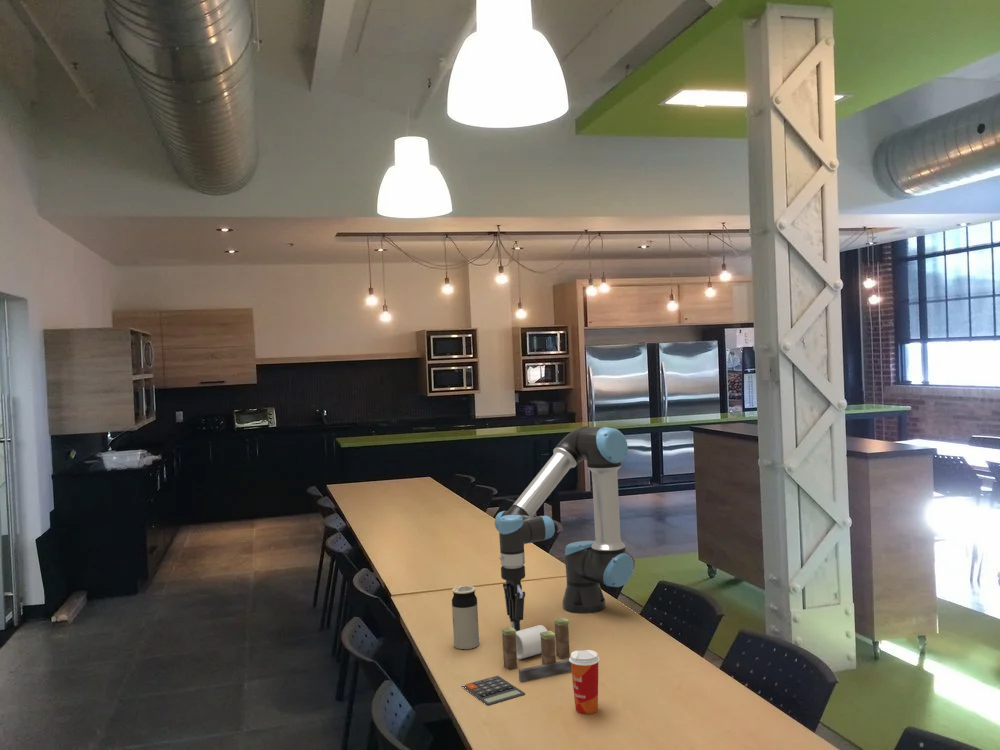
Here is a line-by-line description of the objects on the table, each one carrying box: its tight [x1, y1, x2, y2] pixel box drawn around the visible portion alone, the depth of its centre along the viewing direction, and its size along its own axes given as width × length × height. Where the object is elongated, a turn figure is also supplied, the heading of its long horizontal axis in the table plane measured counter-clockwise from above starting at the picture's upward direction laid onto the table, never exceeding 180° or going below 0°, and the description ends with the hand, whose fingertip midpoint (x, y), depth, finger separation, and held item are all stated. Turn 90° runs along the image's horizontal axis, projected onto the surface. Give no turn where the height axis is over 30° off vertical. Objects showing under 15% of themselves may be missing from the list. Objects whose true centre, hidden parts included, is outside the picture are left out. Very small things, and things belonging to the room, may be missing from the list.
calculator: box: [461, 675, 526, 707], centre depth 216 cm, size 12×1×15 cm
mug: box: [516, 624, 548, 661], centre depth 242 cm, size 12×10×8 cm
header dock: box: [501, 617, 572, 683], centre depth 230 cm, size 20×13×11 cm, turn 112°
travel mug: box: [451, 585, 480, 650], centre depth 251 cm, size 8×8×18 cm
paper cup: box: [568, 649, 600, 715], centre depth 201 cm, size 8×8×14 cm
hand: (516, 640), depth 249 cm, fingers closed
